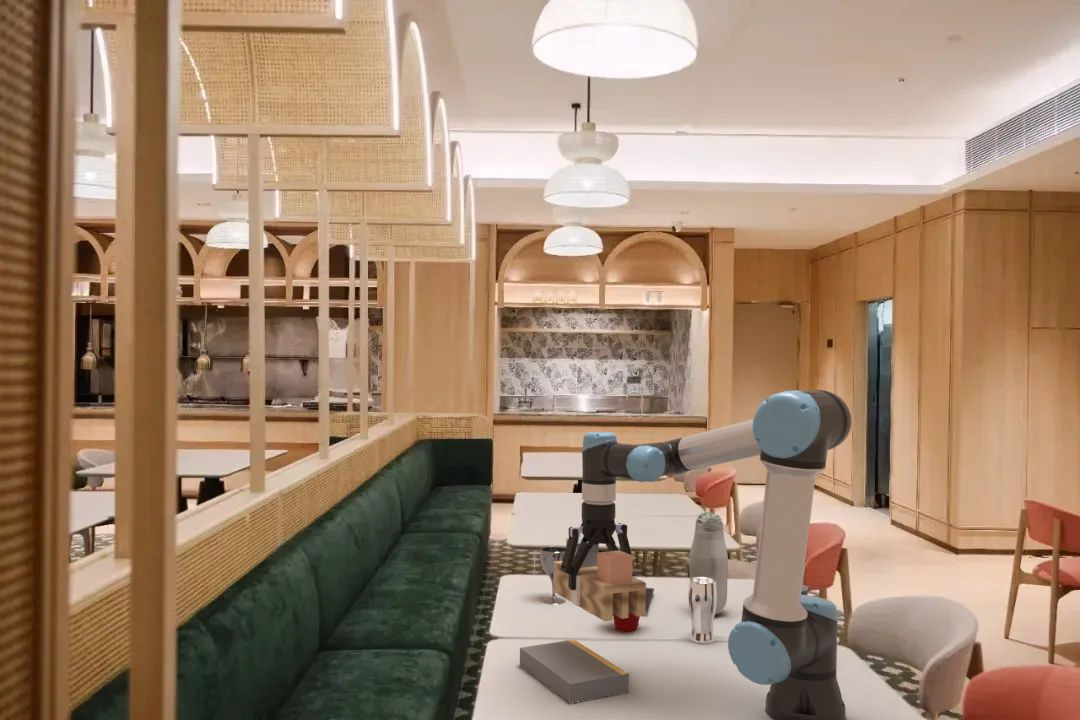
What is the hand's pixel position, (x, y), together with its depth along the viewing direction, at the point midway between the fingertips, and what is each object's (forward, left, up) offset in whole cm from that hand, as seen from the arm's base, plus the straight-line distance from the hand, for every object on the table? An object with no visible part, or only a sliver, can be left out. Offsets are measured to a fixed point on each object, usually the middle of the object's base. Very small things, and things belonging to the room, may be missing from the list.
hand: (597, 601), depth 190 cm
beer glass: (+9, -36, -16) cm, 40 cm away
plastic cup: (+24, -23, -16) cm, 37 cm away
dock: (0, +6, -16) cm, 17 cm away
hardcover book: (+45, -35, -17) cm, 59 cm away
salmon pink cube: (-8, 0, +7) cm, 10 cm away
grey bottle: (+26, -51, -16) cm, 59 cm away
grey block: (+7, 0, +7) cm, 10 cm away
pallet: (0, 0, 0) cm, 0 cm away
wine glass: (+55, -18, -16) cm, 60 cm away
